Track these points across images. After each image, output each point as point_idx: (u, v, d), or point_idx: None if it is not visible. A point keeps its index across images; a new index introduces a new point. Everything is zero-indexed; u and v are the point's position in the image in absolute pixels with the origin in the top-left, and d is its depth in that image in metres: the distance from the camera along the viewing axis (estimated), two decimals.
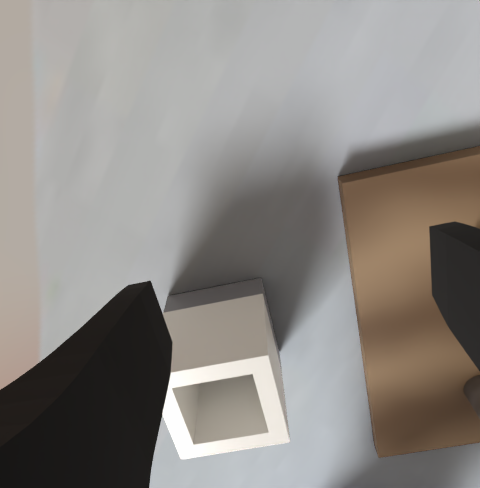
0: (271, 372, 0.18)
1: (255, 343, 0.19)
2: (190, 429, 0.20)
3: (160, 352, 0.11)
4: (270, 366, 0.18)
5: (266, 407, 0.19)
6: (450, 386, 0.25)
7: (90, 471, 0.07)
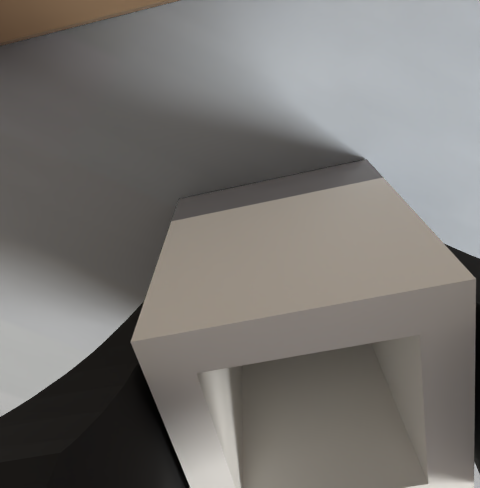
0: (190, 332, 0.07)
1: None
2: (387, 474, 0.08)
3: None
4: (170, 334, 0.07)
5: (318, 342, 0.07)
6: None
7: (151, 461, 0.07)
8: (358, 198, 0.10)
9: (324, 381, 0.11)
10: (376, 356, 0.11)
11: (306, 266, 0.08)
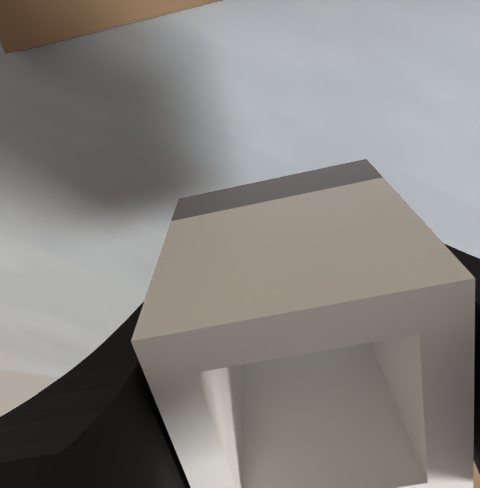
0: (190, 331, 0.07)
1: None
2: (387, 474, 0.08)
3: None
4: (171, 333, 0.07)
5: (318, 341, 0.07)
6: None
7: (151, 461, 0.07)
8: (358, 198, 0.10)
9: (324, 380, 0.11)
10: (376, 355, 0.11)
11: (306, 265, 0.08)
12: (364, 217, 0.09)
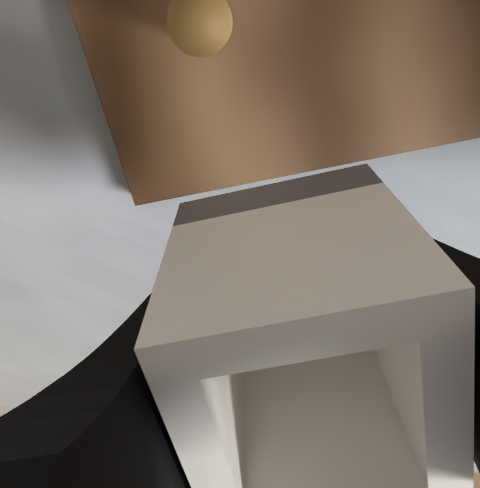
0: (193, 340, 0.07)
1: None
2: (388, 478, 0.09)
3: None
4: (173, 341, 0.07)
5: (319, 349, 0.07)
6: (462, 15, 0.16)
7: (150, 461, 0.07)
8: (358, 204, 0.10)
9: (325, 384, 0.11)
10: (376, 359, 0.11)
11: (307, 273, 0.08)
12: (365, 223, 0.09)
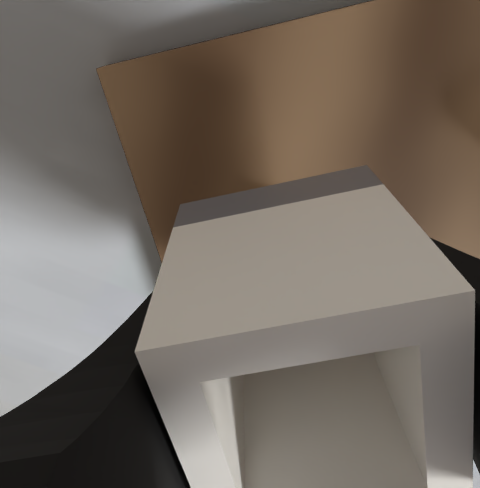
0: (193, 342, 0.07)
1: None
2: (387, 479, 0.09)
3: None
4: (174, 344, 0.07)
5: (319, 351, 0.07)
6: None
7: (151, 461, 0.07)
8: (358, 205, 0.10)
9: (324, 385, 0.11)
10: (376, 360, 0.11)
11: (307, 275, 0.08)
12: (365, 225, 0.09)
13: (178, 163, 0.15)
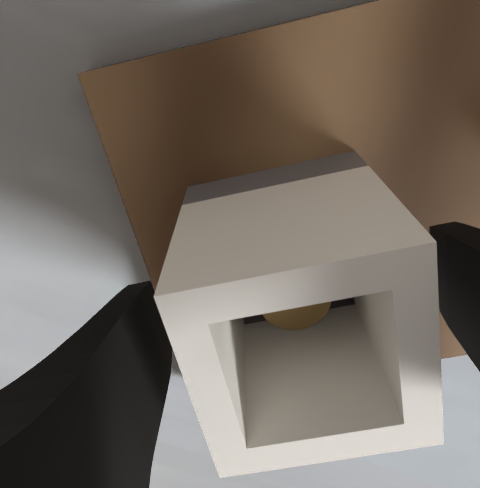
0: (203, 288, 0.08)
1: None
2: (370, 417, 0.10)
3: (160, 352, 0.11)
4: (186, 290, 0.08)
5: (308, 296, 0.08)
6: None
7: (90, 471, 0.07)
8: (346, 183, 0.11)
9: (317, 346, 0.12)
10: (363, 325, 0.13)
11: (299, 237, 0.09)
12: (350, 198, 0.10)
13: (170, 179, 0.13)
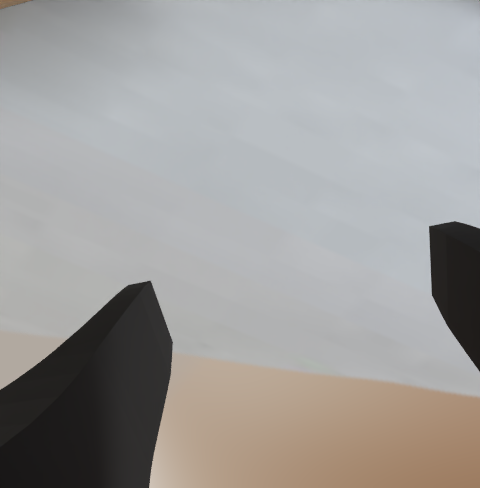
0: None
1: None
2: None
3: (160, 352, 0.11)
4: None
5: None
6: None
7: (90, 471, 0.07)
8: None
9: None
10: None
11: None
12: None
13: None
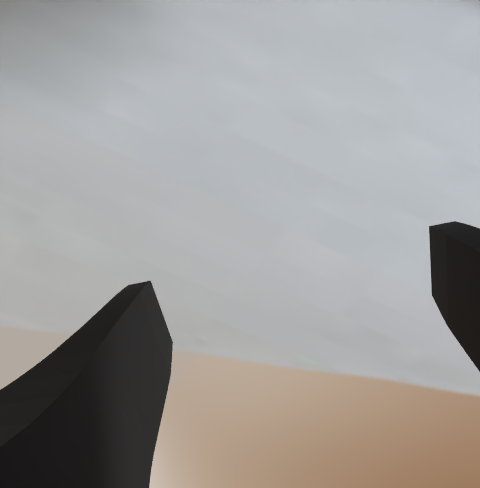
0: None
1: None
2: None
3: (160, 352, 0.11)
4: None
5: None
6: None
7: (90, 471, 0.07)
8: None
9: None
10: None
11: None
12: None
13: None
